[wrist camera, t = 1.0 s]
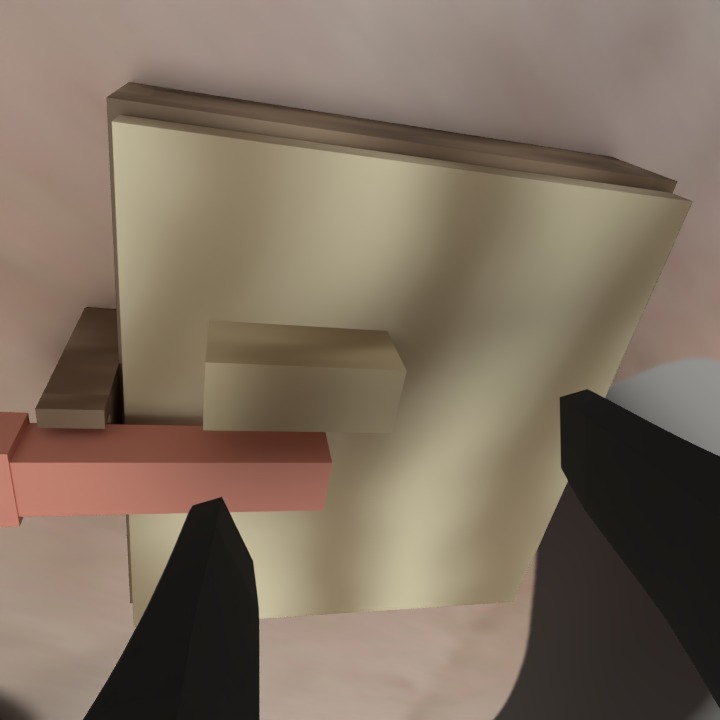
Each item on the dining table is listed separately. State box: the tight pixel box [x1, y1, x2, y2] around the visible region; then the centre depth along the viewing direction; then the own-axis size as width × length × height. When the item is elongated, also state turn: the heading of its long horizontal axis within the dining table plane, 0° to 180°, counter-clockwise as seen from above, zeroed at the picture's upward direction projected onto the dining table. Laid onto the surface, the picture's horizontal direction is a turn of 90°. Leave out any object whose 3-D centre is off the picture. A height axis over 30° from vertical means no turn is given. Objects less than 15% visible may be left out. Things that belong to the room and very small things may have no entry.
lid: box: [112, 115, 692, 627], centre depth 18 cm, size 15×17×3 cm
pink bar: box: [0, 412, 332, 527], centre depth 16 cm, size 9×2×2 cm, turn 80°
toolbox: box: [35, 82, 677, 603], centre depth 20 cm, size 18×18×6 cm
